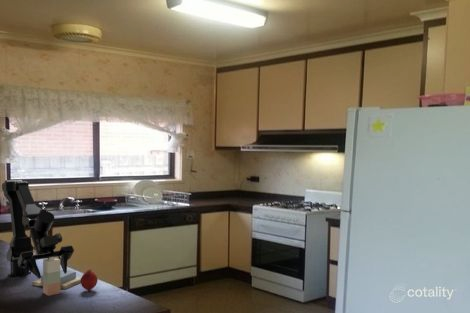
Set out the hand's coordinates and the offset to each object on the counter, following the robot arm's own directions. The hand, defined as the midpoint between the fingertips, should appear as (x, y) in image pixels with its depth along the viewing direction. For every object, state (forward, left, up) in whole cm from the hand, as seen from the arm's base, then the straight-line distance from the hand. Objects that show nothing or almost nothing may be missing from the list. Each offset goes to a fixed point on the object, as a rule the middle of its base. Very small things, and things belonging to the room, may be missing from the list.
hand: (53, 275), depth 166 cm
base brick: (-7, +12, -5) cm, 15 cm away
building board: (-7, +12, -7) cm, 15 cm away
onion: (+10, +7, -7) cm, 14 cm away
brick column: (-1, +1, -7) cm, 7 cm away
